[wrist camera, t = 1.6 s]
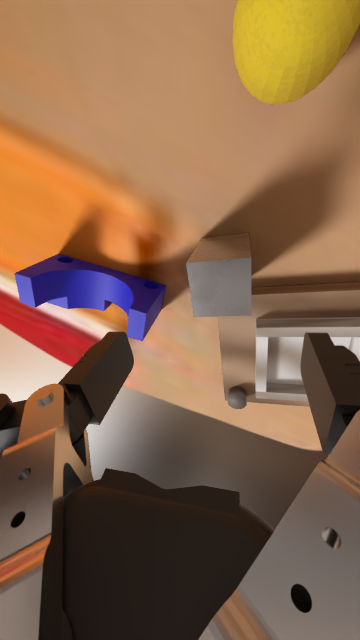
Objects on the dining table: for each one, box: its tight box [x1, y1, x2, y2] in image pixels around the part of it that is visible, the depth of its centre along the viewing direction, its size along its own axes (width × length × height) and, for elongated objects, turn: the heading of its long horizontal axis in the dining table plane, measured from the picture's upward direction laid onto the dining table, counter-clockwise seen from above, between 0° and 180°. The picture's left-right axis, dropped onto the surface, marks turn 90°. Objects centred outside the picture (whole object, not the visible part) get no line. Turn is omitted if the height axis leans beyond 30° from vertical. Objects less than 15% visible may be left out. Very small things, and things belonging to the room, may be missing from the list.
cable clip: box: [15, 254, 166, 341], centre depth 23 cm, size 12×4×6 cm, turn 78°
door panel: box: [218, 282, 360, 409], centre depth 23 cm, size 14×16×3 cm
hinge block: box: [186, 233, 252, 317], centre depth 18 cm, size 4×4×7 cm
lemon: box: [233, 0, 360, 104], centre depth 11 cm, size 6×6×8 cm
